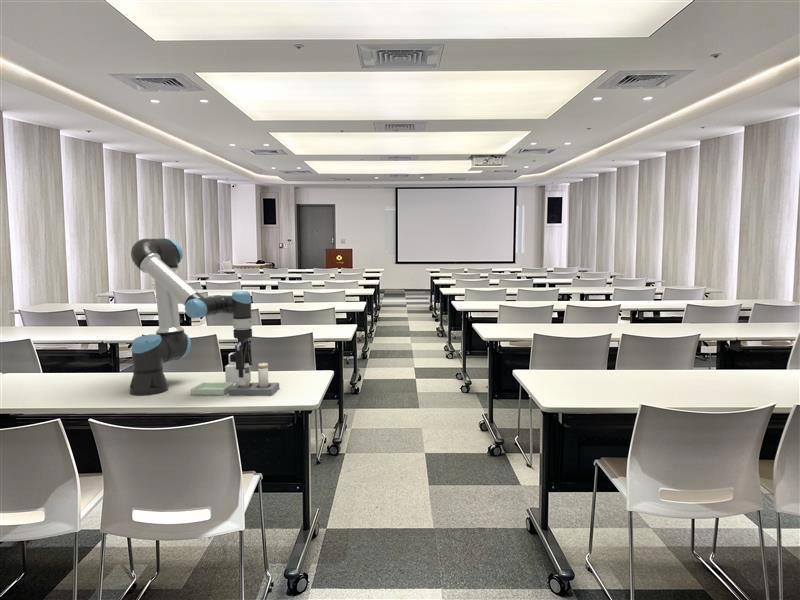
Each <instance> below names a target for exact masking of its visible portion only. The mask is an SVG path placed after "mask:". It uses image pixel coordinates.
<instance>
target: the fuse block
mask: <svg viewBox="0 0 800 600" xmlns="http://www.w3.org/2000/svg"><path fill="white" fill-rule="evenodd" d="M268 385H269V388H259V382H250V388H240V385H239V383H234V386H233V387H231V388H230V389H228V393H227V394H228V396H232V397H233V396H236V397H237V396H242V397H243V396H248V397H249V396H252V397H253V396H255V397H256V396H257V397H261V396H263V397H270V396H273V395H274V394H275V393H276V392H277V391H278V390H279V389H280V382H268Z"/></svg>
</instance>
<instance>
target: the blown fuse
mask: <svg viewBox="0 0 800 600" xmlns="http://www.w3.org/2000/svg"><path fill="white" fill-rule="evenodd" d="M244 369H245V381H246V385H240V388H250V383H251V381H250V377H249V372H250V373H251V369H250V370H249V363H244Z"/></svg>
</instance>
